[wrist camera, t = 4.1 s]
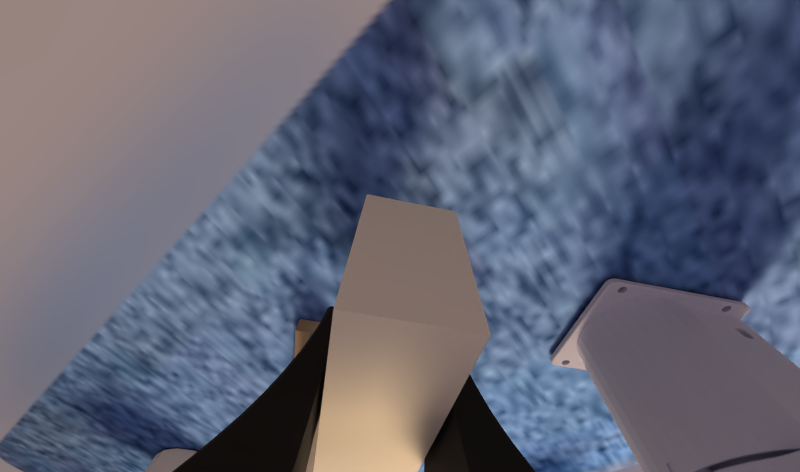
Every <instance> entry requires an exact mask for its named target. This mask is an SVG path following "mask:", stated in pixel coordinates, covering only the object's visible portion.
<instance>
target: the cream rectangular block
mask: <svg viewBox="0 0 800 472" xmlns="http://www.w3.org/2000/svg"><path fill="white" fill-rule="evenodd" d="M490 335H491V334H490V331H489V327H488V324H487V320H486V317H485V313H484V310H483V306H482V303H481V299H480V296H479V292H478V289H477V285H476V282H475V278H474V274H473V271H472V267H471V264H470V260H469V257H468V253H467V250H466V246H465V243H464V239H463V236H462V232H461V229H460V225H459V222H458V218H457V215H456V212H455V211H450V210H445V209H440V208H435V207H429V206H424V205H419V204H414V203H409V202H404V201H399V200H394V199H389V198H384V197H379V196H374V195H369V194H367V195H366V199H365V202H364V206H363V209H362V212H361V216H360V219H359V223H358V226H357V230H356V233H355V237H354V240H353V244H352V247H351V251H350V254H349V257H348V261H347V264H346V268H345V271H344V275H343V278H342V282H341V285H340V289H339V292H338V295H337V299H336V302H335V306H334V309H333V317H332V325H331V333H330V341H329V349H328V357H327V366H326V374H325V382H324V390H323V398H322V406H321V414H320V422H319V430H318V438H317V446H316V454H315V462H314V470H313V472H418V470H419V468H420V466H421V464H422V463H423V461H424V459H425V457H426V455H427V453H428V451H429V449H430V448H431V446H432V444H433V442H434V440H435V438H436V436H437V434H438V433H439V431H440V429H441V427H442V425H443V423H444V421H445V420H446V418H447V416H448V414H449V412H450V410H451V408H452V406H453V405H454V403H455V401H456V399H457V397H458V395H459V393H460V391H461V390H462V388H463V386H464V384H465V382H466V380H467V378H468V377H469V375H470V373H471V371H472V369H473V367H474V365H475V363H476V362H477V360H478V358H479V356H480V354H481V352H482V350H483V348H484V347H485V345H486V343H487V341H488V339H489V337H490Z"/></svg>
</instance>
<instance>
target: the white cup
mask: <svg viewBox="0 0 800 472" xmlns="http://www.w3.org/2000/svg"><path fill="white" fill-rule="evenodd" d="M196 452H197V451H194V450H188V449H179V448H175V449H166V450H163V451H161V452H160V453H158V454H156V456H155V457H154V459H153V460H152V462H151V463H150V465H149V466H148V468H147V469H146V471H145V472H172V471H174V470H175V469H176V468H177V467H179V466H180V465H181V464H182V463H184V462H185V461H186V460H188V459H189V458H190V457H191V456H193V455H194V454H195V453H196Z"/></svg>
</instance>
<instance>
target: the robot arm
mask: <svg viewBox="0 0 800 472" xmlns="http://www.w3.org/2000/svg"><path fill="white" fill-rule="evenodd" d="M333 309H334V307H332V306H331V307H329V308H328V309H327V311H326V313H325V315H324V317H323V319H322V320H321V322H320V324H319V325H318V327H317V328H316V330H315V331H314V333H313V334H312V336H311V337H310V338H309V340H308V341H307V342H306V344H305V345H304V347H303V348H302V349H301V351H300V352H299V353H298V354H297V356H296V357H295V358H294V359H293V360H292V362H291V363H290V364H289V365H288V367H287V368H286V369H285V370H284V371H283V372H282V373H281V375H280V376H279V377H278V378H277V379H276V380H275V381H274V382H273V383H272V384H271V385H270V387H269V388H268V389H267V390H266V391H265V392H264V393H263V394H262V395H261V396H260V397H259V398H258V399H257V400H256V401H255V402H254V403H253V404H252V405H251V406H250V407H249V408H247V409H246V410H245V411H244V412H243V413H242V414H241V415H240V416H239V417H238V418H237V419H235V420H234V421H233V422H232V423H231V424H230V425H229V426H227V427H226V428H225V429H224V430H223V431H222V432H221V433H219V434H218V435H217V436H216V437H215V438H214V439H213V440H211V441H210V442H209V443H208V444H207V445H205V446H204V447H203V448H201V449H200V450H199V451H198V452H196V453H195V454H194V455H193V456H191V457H190V458H189V459H188V460H186V461H185V462H184V463H182V464H181V465H180V466H179V467H177V468H176V469H175V470H174V471H172V472H306V469H307V464H308V460H309V456H310V451H311V447H312V443H313V438H314V435H315V431H316V428H317V424H318V421H319V418H320V414H321V406H322V398H323V390H324V382H325V374H326V366H327V357H328V349H329V341H330V333H331V325H332V317H333ZM749 309H750V308H749V306H748V305H746V304H745V303H743V302H740V301H734V300H729V299H723V298H718V297H713V296H707V295H702V294H697V293H691V292H686V291H680V290H675V289H670V288H664V287H659V286H653V285H648V284H643V283H637V282H632V281H627V280H621V279H609V280H607V281H606V282H605V283H604V284H603V285H602V287H601V288H600V290H599V291H598V292H597V294H596V295H595V296H594V298H593V299H592V300H591V302H590V303H589V305H588V306H587V307H586V309H585V310H584V311H583V313H582V314H581V316H580V317H579V318H578V320H577V321H576V322H575V324H574V325H573V326H572V328H571V329H570V331H569V332H568V333H567V335H566V336H565V337H564V339H563V340H562V342H561V343H560V344H559V346H558V347H557V348H556V350H555V351H554V352H553V354H552V355H551V357H550V360H551V362H552V364H554V365H557V366H564V367H570V368H576V369H583V370H587V371H588V373H589V375H590V377H591V379H592V380H593V382H594V384H595V386H596V388H597V389H598V391H599V393H600V395H601V397H602V398H603V400H604V402H605V404H606V406H607V407H608V409H609V411H610V413H611V415H612V416H613V418H614V420H615V422H616V424H617V426H618V427H619V429H620V431H621V433H622V435H623V436H624V438H625V440H626V442H627V444H628V445H629V447H630V449H631V451H632V453H633V454H634V456H635V458H636V460H637V462H638V463H639V465H640V467H641V469H642V470H643V472H800V368H799V367H797V366H796V365H795V364H794V363H793V362H791V361H790V360H789V359H788V358H786V357H785V356H784V355H783V354H782V353H780V352H779V351H778V350H777V349H775V348H774V347H773V346H772V345H771V344H769V343H768V342H767V341H766V340H764V339H763V338H762V337H761V336H760V335H758V334H757V333H756V332H755V331H753V330H752V329H751V328H750V327H749V326H747V325H746V324H745V323H744V322H742V321H741V320H740V319H741V318H742V317H743V316H744V315H745V314H747V313H748V311H749ZM424 472H535V471H534V469H533V468H532V467H531V466H530V464H529V463H528V462H527V460H526V459H525V458H524V457H523V455H522V454H521V453H520V451H519V450H518V449H517V448H516V446H515V445H514V444H513V442H512V441H511V440H510V438H509V437H508V435H507V434H506V433H505V431H504V430H503V428H502V427H501V425H500V424H499V422H498V421H497V419H496V418H495V416H494V415H493V413H492V412H491V410H490V409H489V407H488V405H487V404H486V402H485V400H484V399H483V397H482V395H481V394H480V392H479V390H478V388H477V387H476V385H475V383H474V381H473V379H472V377H471V376H470V375H469V377H468V378H467V380H466V382H465V384H464V386H463V388H462V390H461V391H460V393H459V395H458V397H457V399H456V401H455V403H454V405H453V406H452V408H451V410H450V412H449V414H448V416H447V418H446V420H445V421H444V423H443V425H442V427H441V429H440V431H439V433H438V434H437V436H436V438H435V440H434V442H433V444H432V446H431V448H430V449H429V451H428V453H427V455H426V457H425V465H424Z"/></svg>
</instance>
